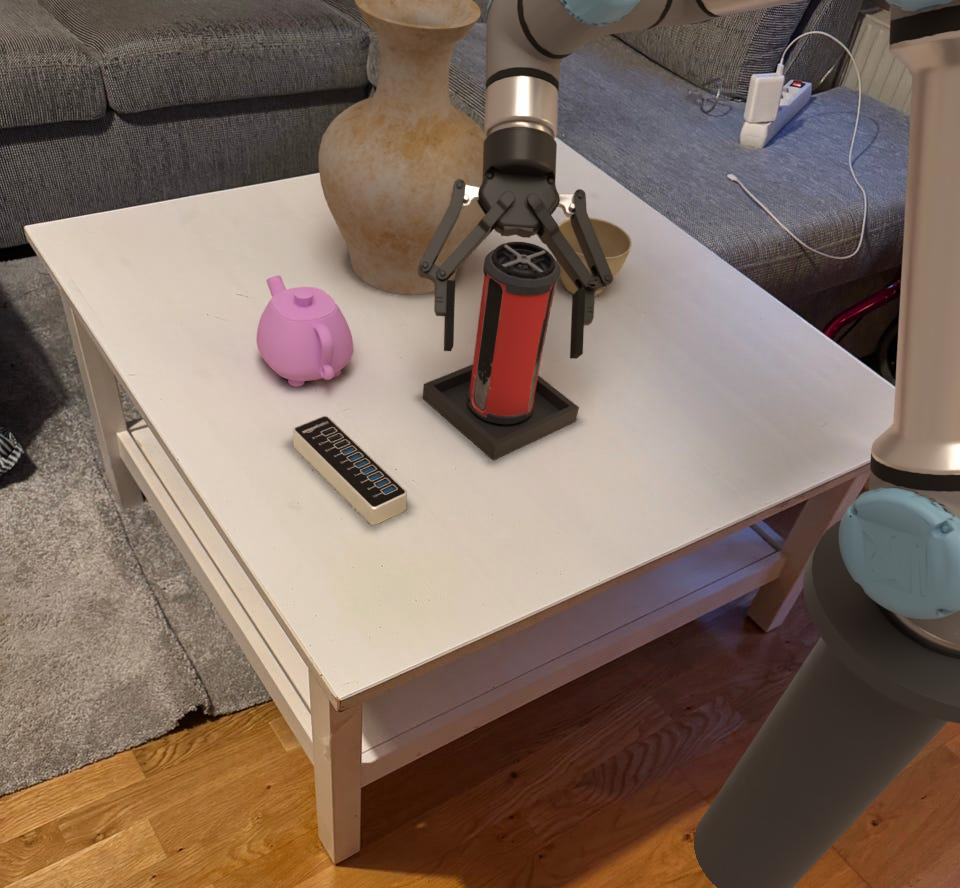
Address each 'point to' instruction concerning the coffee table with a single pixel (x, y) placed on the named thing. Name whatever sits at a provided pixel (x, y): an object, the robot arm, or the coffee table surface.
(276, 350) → the teapot
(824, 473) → the coffee table surface
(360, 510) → the multiport hub
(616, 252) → the flower pot
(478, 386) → the speaker
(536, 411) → the dock pad
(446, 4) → the vase
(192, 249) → the coffee table surface
